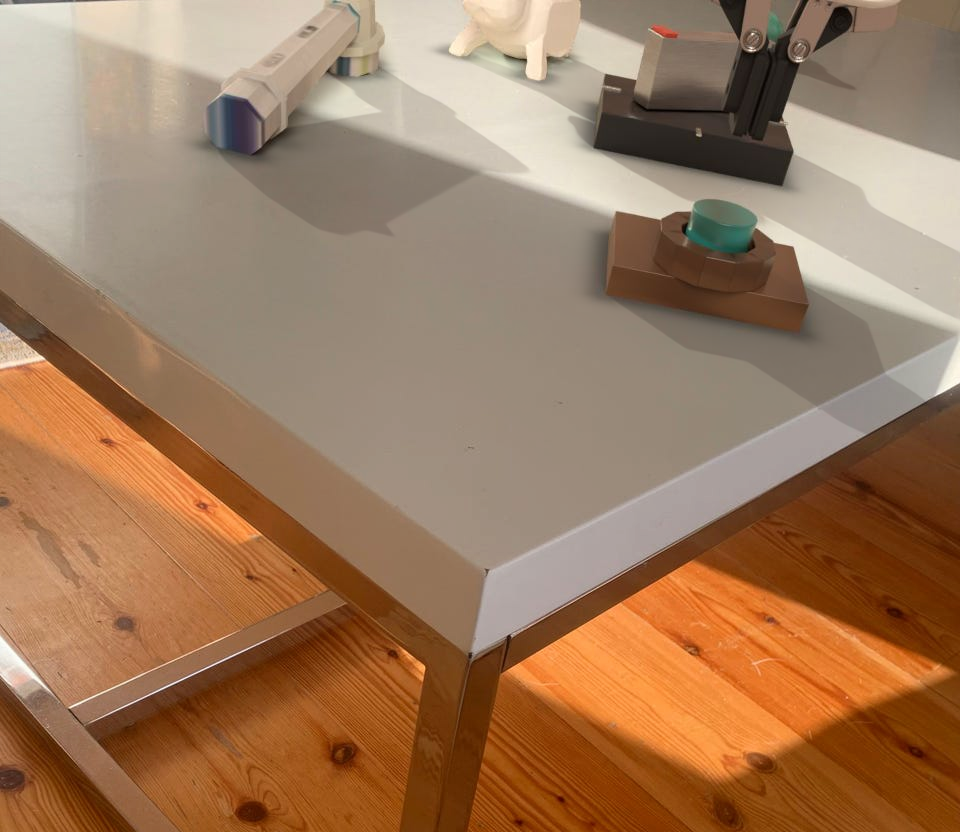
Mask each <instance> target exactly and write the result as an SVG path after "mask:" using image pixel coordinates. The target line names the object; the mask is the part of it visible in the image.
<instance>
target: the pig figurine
mask: <svg viewBox="0 0 960 832" xmlns="http://www.w3.org/2000/svg"><path fill="white" fill-rule="evenodd" d="M581 3H582V2H581V1H580V0H462V9H463V10H464V13H465V14H467V15H468V16H470V17H471V19H470V20H469V21H468V23H467V24H466V26H465V27H463V29H462V30H461V31H460V32H459V34H458V35H457V36H456V37H455V38H454V40H453V41H452V43H451V45H450V46H449V48H448V51H449V53H450V54H452V55H453V56H457V57H467V56H470V54H471V53H473V51H474V50H475V48H477V47H480V46H482V45H485V44H487V43H489V44H490V45H491V46H492V47H494V48H495V49H496V50H498V51H499V52H500V53H503V54H504V55H506V56H509V57H512V58H515V59H519V60H520V59H522V60H526V65H525V75H526V78H527V79H530V80H533V81H543V80H545V79H546V77H547V73H548V62H547V61H548V60H547V58H549V57H555V58H563V57H564V58H569V55H570V52H571V51H572V48H573V47H574V44H575V40H576V37H577V34H578V30H579V27H580V24H581V8H582V5H581Z"/></svg>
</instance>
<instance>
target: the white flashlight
mask: <svg viewBox="0 0 960 832" xmlns="http://www.w3.org/2000/svg"><path fill="white" fill-rule="evenodd" d="M385 38H386V34H385V31H384V27H383V25H382V24H381V23H380V22H377V21H376V1H375V0H323V9H321V10H320V11H319V12H318V13H316V14H315V15H314V16H312V17H311V18H310V19H309V20H308V21H307V22H306V23H304V24H303V25H302V26H301V27H299V28H298V29H297V30H295V31H294V32H293V33H292V34H290V35H289V36H287V38H285V39H284V40H283V41H282V42H280V43H279V44H278V45H276V46H275V47H274V48H273V49H272V50H271V51H270V52H268V53H267V54H266V55H264V56H263V57H261V58H260V59H259V60H258V61H257V62H255V63H254V64H253V65H252V66H251V67H249V68H245V67H240V68H239V69H238V70H236V71H235V72H233V73H232V75H231V76H229V77H228V78H227V79H226V80H224V81H223V82H222V83H220V93H219V94H218V95H217V96H216V97H215V98H214V99H213V100H212V101H211V102H210V103H209V104H208V105H207V106H206V107H205V108H203V117H204V119H203V120H204V134H205V135H206V136H207V137H208V139H209V140H210V141H211V142H212V144H213V145H214V146H215V147H216V148H220V149H223V150H227V151H231V152H234V153H239V154H243V155H247V156H252V155H253V154H255V153H256V152H257V151H259V150H260V149H261V148H262V147H263V146H264V145H265V144H266V142H268V141H269V140H272V139H274V138H275V137H277V135H279V134H280V133H282V132H283V131H285V130H286V129H287V128H288V127H289V116H290V115H291V114H292V113H293V111H295V109H296V108H297V107H298V106H299V105H300V104H301V102H302V101H303V100H304V99H305V97H306V96H307V95H308V94H309V92H311V90H312V89H313V88H314V87H315V85H317V83H318V82H319V81H320V79H322V77H323V76H324V75H325V73H326V72H327V73H330V74H334V75H339V76H342V77H361V76H364V75H366V74H369V75H373V74H374V73H376V72H377V71H378V69H379V60H380V59H379V57H380V50H381V48H382V47H383V46H384V44H385Z"/></svg>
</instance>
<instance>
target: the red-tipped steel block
mask: <svg viewBox="0 0 960 832" xmlns="http://www.w3.org/2000/svg"><path fill="white" fill-rule="evenodd" d="M772 44H774V45H775V42H773V41H771V40H769V45H768V48H771V47H772ZM738 46H739V40H738V38H737V36H736V34H735V32H722V31H706V30H705V31H704V30H689V29H671V28H669V27H667V26H665V25H659V24H658V25H656V24H652V27H650V28H648V31H647V35H646V38H645V43H644V47H643V51H642V55H641V60H640V65H639V67H638V73H637V76H636V80H637V81H636V85H635V89H634V93H633V97H632V99H633V100H634V101H636V102H637V103H639V104H640V105H641V106H643V107H644V108H646V109H655V110H700V111H722V108H721V106H722V100H723V96H724V92H725V89H726V86H727V82H728V79H729V76H730V72H731V69H732V66H733V62H734V59H735V56H736V52H737V49H738Z"/></svg>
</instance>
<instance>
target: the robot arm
mask: <svg viewBox="0 0 960 832" xmlns="http://www.w3.org/2000/svg"><path fill="white" fill-rule="evenodd" d="M708 1H709V2H710V3H713V4H715V5H717V6H719V7H721V9H722V11H723V13H724V15H725V17H726V19H727V20H728V22H729V25H730V26H731V28H732V30H733V33H735V34H736V36H737V38H738V40H739V46H738V49H737V52H736V56H735V59H734V62H733V66H732V69H731V72H730V76H729V79H728V82H727V86H726V89H725V92H724V96H723V100H722V106H721V108H722V111H725V112H730V114H729V125H730V130H731V134H732V135H734V136H738V137H742V136H743V135H746V134H747V132H748V135H749V136H751V138H752V140H757V141H761V142H762V140H763V138H764V136H765V133H766V130H767V126H768V123H769V121H771V122H776V123H779V122H780V120H781V118H782V116H784V112H785V110H786V107H787V103H788V100H789V98H790V94H791V92H792V88H793V85H794V82H795V79H796V76H797V74H798V70H799V68H800V64H802V63H805V62H807V61H808V60H809V59H810V57H811V56H812V54H814V53H815V52H816V51H818V50H820V49H822V48H823V47H825V46H826V45H828V44H829V43H831V42H832V41H834V40H835V39H837V38H839V37H841V36H842V35H844V34H846V33H853V34H862V33H884V32H889V31H890V30H892V29H893V28H894V27H895V26H896V24H897V21H898V16H899V15H898V14H899V8H900V2H902V1H903V0H797V2H796V5H795V7H794V8H793V11H792V13H791V15H790V17H789V19H788V22H787V24H786V26H785V28H784V29H783V30H784V32H783V33H782V34H781V35H779V36H778V37H777V40H776V43H775V45H774V44H772V47H771V48H768V45H769V39H768V37H767V28H768V22H769V16H770V12H771V9H772V4H773V0H708Z"/></svg>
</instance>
